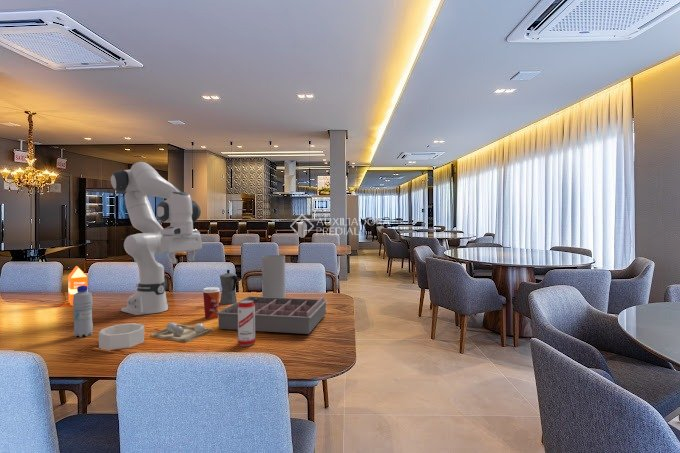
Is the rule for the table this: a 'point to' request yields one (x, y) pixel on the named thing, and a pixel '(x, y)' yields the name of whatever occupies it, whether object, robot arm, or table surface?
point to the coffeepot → (228, 288)
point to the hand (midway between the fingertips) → (183, 262)
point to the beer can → (246, 322)
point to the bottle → (82, 312)
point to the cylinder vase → (273, 276)
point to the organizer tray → (278, 314)
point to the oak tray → (185, 337)
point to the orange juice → (76, 282)
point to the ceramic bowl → (121, 336)
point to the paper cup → (211, 302)
